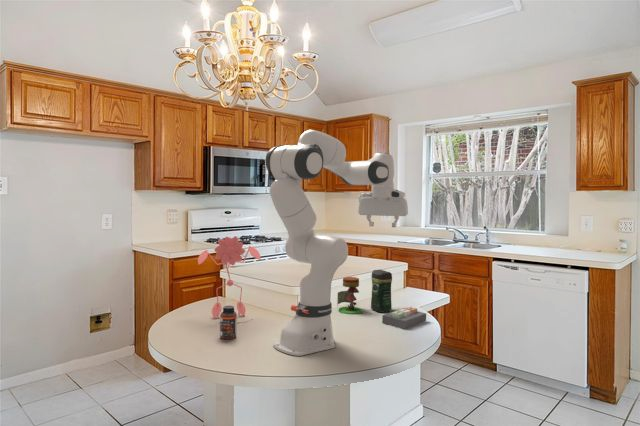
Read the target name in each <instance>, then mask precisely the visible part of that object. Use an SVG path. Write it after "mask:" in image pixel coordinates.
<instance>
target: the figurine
mask: <svg viewBox="0 0 640 426" xmlns="http://www.w3.org/2000/svg"><path fill="white" fill-rule="evenodd" d="M217 244H218V246H216V247H214V252H215V256H214V257H215V259H216V260H220V261H221V262H219V263H217V261H216V260H215V259H214V258H213V256H212V255H211V254H210V253H209V251H208V249H205V250H204V251H202V252H201V253H200V254H199V255H198V257H197V265H199V266H200V265H201V264H203V263H204V262H205V261H206V260H207V258H208V256H209V257H210V258H211V261H213V262H214V264H215V265H217V266H220V265H223V266H226V265H227V264H228V265H227V267H226V272H227V275H228V278H229V279H228V280H227V281H226V284H223V285H221V286H219V287H217V288H216V289H215V290H216V300H217V301H216V303H215V304H214V305H213V307H212V309H211V315H212V317H213V319H216V318H217V317H218V316H220V314H221V313H222V312H221V311H222V310H223V306H222V303H221V302H219V294H218V289H221V288H223V287H225V286H228V287H231V286H233V285H234V286H236V287H237V288H240V294H239V295H240V296H239V297H240V298H239V301H237V302H236V309H237V311H238V313H237V315H241V316H243V317H245V315H246V307H245V305H244V303H243V302H242V293H243V292H242V291H243V288H242V286H240V285H237V284H235V283H234V281H233V280H232V279H231V276H230V272H229V267H230V265H231V266H235V264H236V263H240V264H241V263H244V262H246V261H245V260H246V258H247V256H248V254H249V253H250V255H251V256H252V257H253V258H255V259H257V260H259V261H261V253H260V252H259V250H257V248H255V247H253V246H251V245H249V246H248V248H247V252H246V249H244V248H243V246H244V242H243V241H239V238H238V236H235V235H234V236H233V237H232V238H231V237H229V236H225V237H224V239H223V238H220V239H218V240H217ZM244 253H246V254H245V256H244V259H243V257H242V255H243V254H244ZM252 320H253V318H252V319H250V320H246V321H244V323H247V322H250V321H252ZM240 323H243V321H242V322H240ZM218 324H219V325H220V322H218Z"/></svg>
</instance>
